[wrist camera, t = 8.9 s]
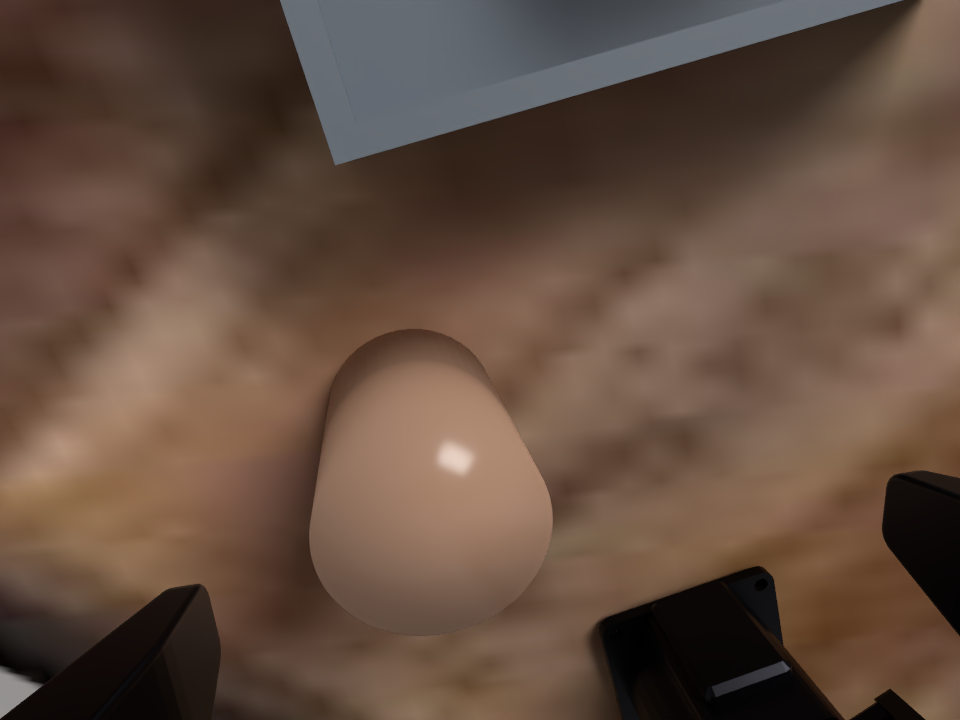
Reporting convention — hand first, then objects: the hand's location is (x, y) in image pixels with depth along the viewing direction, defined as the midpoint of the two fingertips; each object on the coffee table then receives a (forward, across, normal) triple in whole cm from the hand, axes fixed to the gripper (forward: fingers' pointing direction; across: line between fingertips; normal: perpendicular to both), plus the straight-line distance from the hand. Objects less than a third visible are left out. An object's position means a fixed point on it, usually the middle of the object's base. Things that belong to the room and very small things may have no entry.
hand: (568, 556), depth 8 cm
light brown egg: (+12, +2, +2) cm, 12 cm away
